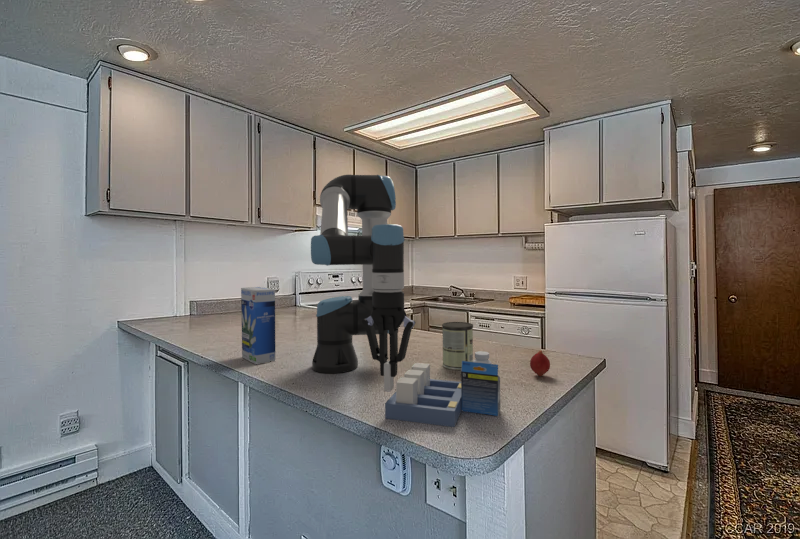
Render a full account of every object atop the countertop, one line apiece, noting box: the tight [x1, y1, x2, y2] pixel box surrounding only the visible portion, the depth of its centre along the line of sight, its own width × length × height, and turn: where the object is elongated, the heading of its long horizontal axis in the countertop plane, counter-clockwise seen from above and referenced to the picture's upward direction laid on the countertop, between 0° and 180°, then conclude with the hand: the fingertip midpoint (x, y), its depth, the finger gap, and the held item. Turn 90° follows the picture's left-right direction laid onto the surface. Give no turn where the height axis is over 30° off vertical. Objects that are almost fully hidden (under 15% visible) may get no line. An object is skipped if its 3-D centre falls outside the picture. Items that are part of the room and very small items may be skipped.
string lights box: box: [240, 286, 276, 365], centre depth 142 cm, size 13×8×26 cm, turn 43°
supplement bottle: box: [473, 350, 493, 371], centre depth 111 cm, size 5×5×10 cm
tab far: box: [411, 362, 431, 386], centre depth 105 cm, size 4×4×6 cm
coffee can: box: [441, 321, 474, 371], centre depth 132 cm, size 10×10×14 cm
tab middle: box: [403, 369, 424, 395], centre depth 98 cm, size 4×4×6 cm
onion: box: [529, 350, 551, 377], centre depth 121 cm, size 6×6×8 cm
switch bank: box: [384, 378, 462, 428], centre depth 97 cm, size 16×20×4 cm
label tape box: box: [460, 361, 501, 417], centre depth 94 cm, size 9×4×12 cm, turn 68°
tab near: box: [395, 376, 418, 405], centre depth 92 cm, size 4×4×6 cm
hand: (388, 389), depth 93 cm, fingers closed
